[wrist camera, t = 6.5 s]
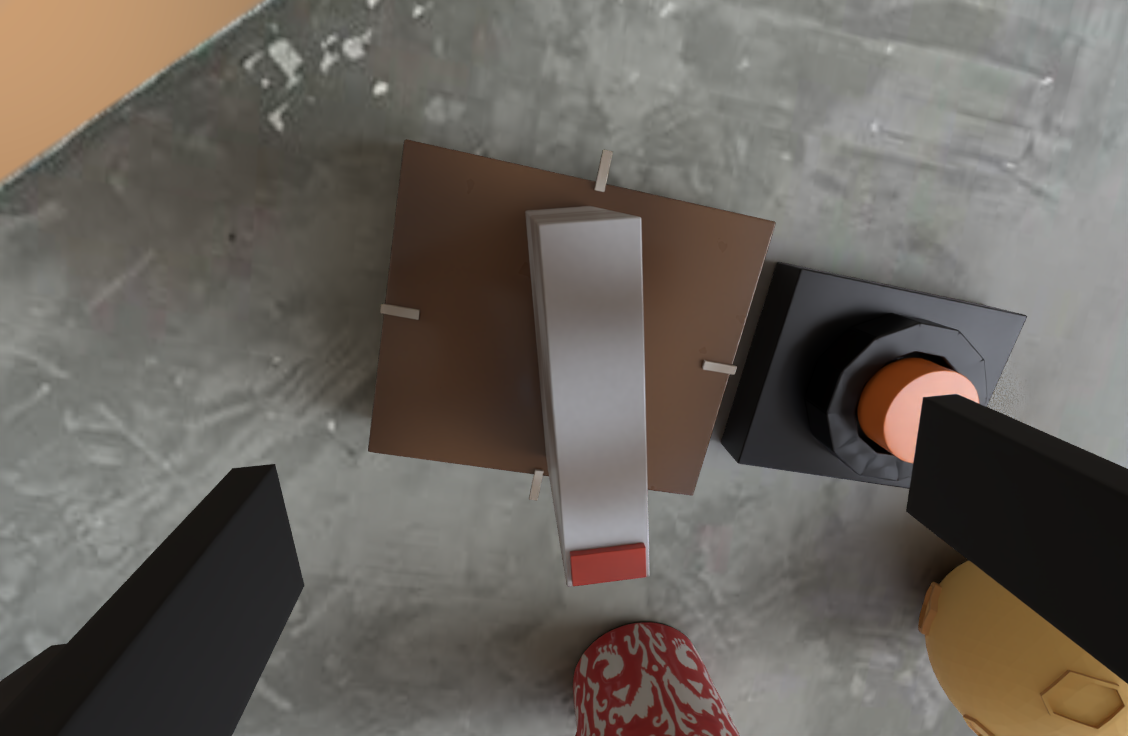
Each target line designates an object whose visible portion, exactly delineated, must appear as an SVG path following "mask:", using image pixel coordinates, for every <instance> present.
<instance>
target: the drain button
mask: <svg viewBox="0 0 1128 736" xmlns="http://www.w3.org/2000/svg"><path fill="white" fill-rule="evenodd" d="M950 394H958V395H961V396H963V397H965V398H967V399H970V400H972V401H974V402H977V403H979V397H978V393H977V390H976V389H975V387H974V385H973V384H972V382H971V381H970V380H969V379H968V378H967V377H965V376H964V375H962V374H960V373H958V372H955V371H953V370H950V369H948V368H946V367H943V366H941V365H938V364H936V363H933V362H931V361H928V360H926V359H922V358H904V359H900V360H896V361H894V362H891V363H889V364H888V365H886V366H884V367H883V368H881V369H880V370H879V371H878V372H876V373H875V374H874V375H873V376H872V377H871V378H870V380H869V381H868V382H867V384H866V385H865V387H864V389H863V391H862V393H861V395H860V398H859V402H858V409H857V414H858V421H859V424H860V427H861V429H862V430H863V432H864V433H865V435H866V436H867V437H868V438H870V439H871V440H872V441H874V442H875V443H877V444H878V445H879V446H881V447H882V448H884V449H885V450H887V451H888V452H890V453H891V454H893V455H894V456H896V457H897V458H899V459H900V460H903V461H905V462H909V463H913V462H914V455H915V448H916V441H917V434H918V428H919V421H920V414H921V407H922V401H923V397H930V396H940V395H950Z"/></svg>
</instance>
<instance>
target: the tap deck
mask: <svg viewBox="0 0 1128 736" xmlns="http://www.w3.org/2000/svg"><path fill="white" fill-rule="evenodd" d="M612 154H613V152H612V151H608V150H602V155H601V160H600V165H599V169H598V174H597V179H596V182H595V181H591V180H586V179H582V178H577V177H573V176H568V175H564V174H559V173H555V172H550V171H546V170H541V169H537V168H532V167H528V166H523V165H519V164H515V163H510V162H506V161H501V160H497V159H492V158H488V157H483V156H479V155H474V154H470V153H465V152H461V151H456V150H452V149H447V148H443V147H438V146H434V145H429V144H425V143H420V142H416V141H411V140H407V139H406V140H404V145H403V154H402V163H401V171H400V180H399V188H398V197H397V205H396V214H395V223H394V231H393V240H392V248H391V257H390V265H389V274H388V283H387V291H386V300H385V304H384V303H382V304H381V310H380V313H382V314H384V317H383V326H382V334H381V343H380V351H379V360H378V368H377V377H376V386H375V394H374V403H373V411H372V420H371V428H370V437H369V446H368V451H369V452H374V453H381V454H389V455H396V456H403V457H411V458H418V459H426V460H433V461H440V462H448V463H455V464H462V465H470V466H477V467H485V468H492V469H499V470H507V471H514V472H522V473H529V474H534V476H533V481H532V486H531V491H530V495H529V500H538V495H539V491H540V486H541V481H542V477H543V475H544V476H549V472H548V465H547V459H546V449H545V437H544V425H543V413H542V402H541V390H540V378H539V366H538V355H537V343H536V331H535V320H534V308H533V296H532V284H531V273H530V261H529V249H528V237H527V226H526V214H525V212H526V211H528V210H541V209H555V208H568V207H582V206H592V207H597V208H601V209H606V210H610V211H615V212H620V213H624V214H629V215H634V216H638V217H641V225H642V269H643V312H644V355H645V399H646V442H647V486H648V490H654V491H662V492H669V493H677V494H684V495H691V496H692V495H693V493H694V490H695V487H696V484H697V480H698V477H699V474H700V470H701V467H702V464H703V461H704V457H705V454H706V451H707V447H708V444H709V441H710V438H711V434H712V431H713V428H714V424H715V421H716V418H717V415H718V411H719V408H720V405H721V401H722V398H723V395H724V392H725V388H726V385H727V382H728V379H729V375H730V374H733V375H735V371H736V368H737V366H735V365H733V362H734V359H735V356H736V352H737V349H738V346H739V342H740V339H741V336H742V333H743V329H744V326H745V323H746V319H747V316H748V313H749V310H750V306H751V303H752V300H753V296H754V293H755V290H756V287H757V283H758V280H759V277H760V274H761V270H762V267H763V264H764V260H765V257H766V254H767V251H768V247H769V244H770V241H771V237H772V234H773V231H774V228H775V224H776V222H774V221H770V220H766V219H761V218H757V217H752V216H748V215H743V214H739V213H734V212H730V211H725V210H721V209H716V208H712V207H707V206H703V205H698V204H694V203H689V202H685V201H680V200H676V199H671V198H667V197H662V196H658V195H653V194H649V193H644V192H640V191H636V190H631V189H627V188H622V187H618V186H613V185H609V184H606V182H607V177H608V172H609V168H610V163H611V159H612Z"/></svg>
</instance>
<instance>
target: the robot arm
mask: <svg viewBox="0 0 1128 736" xmlns="http://www.w3.org/2000/svg"><path fill="white" fill-rule="evenodd" d="M906 512H908V513H909V514H910V515H911V516H913V517H914V518H915V519H917V520H918V521H919V522H920V523H922V524H923V525H924V526H926V527H927V528H928V529H929V530H931V531H932V532H933V533H935V534H936V535H937V536H938V537H940V538H941V539H942V540H944V541H945V542H946V543H947V544H949V545H950V546H951V547H953V548H954V549H955V550H956V551H958V552H959V553H960V554H962V555H963V556H964V557H965V558H967V559H968V560H969V561H970V562H972V563H973V564H974V565H976V566H977V567H978V568H979V569H981V570H982V571H983V572H985V573H986V574H987V575H988V576H990V577H991V578H992V579H994V580H995V581H996V582H997V583H999V584H1000V585H1001V586H1003V587H1004V588H1005V589H1006V590H1008V591H1009V592H1010V593H1012V594H1013V595H1014V596H1015V597H1017V598H1018V599H1019V600H1021V601H1022V602H1023V603H1024V604H1026V605H1027V606H1028V607H1030V608H1031V609H1032V610H1033V611H1035V612H1036V613H1037V614H1039V615H1040V616H1041V617H1042V618H1044V619H1045V620H1046V621H1047V622H1049V623H1050V624H1051V625H1053V626H1054V627H1055V628H1056V629H1058V630H1059V631H1060V632H1062V633H1063V634H1064V635H1065V636H1067V637H1068V638H1069V639H1071V640H1072V641H1073V642H1074V643H1076V644H1077V645H1078V646H1080V647H1081V648H1082V649H1083V650H1085V651H1086V652H1087V653H1089V654H1090V655H1091V656H1092V657H1094V658H1095V659H1096V660H1098V661H1099V662H1100V663H1101V664H1103V665H1104V666H1105V667H1107V668H1108V669H1109V670H1110V671H1112V672H1113V673H1114V674H1116V675H1117V676H1118V677H1119V678H1121V679H1122V680H1123V681H1125V682H1126V683H1127V684H1128V469H1127V468H1124V467H1122V466H1120V465H1118V464H1115V463H1113V462H1111V461H1109V460H1106V459H1104V458H1102V457H1099V456H1097V455H1095V454H1093V453H1090V452H1088V451H1086V450H1084V449H1081V448H1079V447H1077V446H1074V445H1072V444H1070V443H1068V442H1065V441H1063V440H1061V439H1058V438H1056V437H1054V436H1052V435H1049V434H1047V433H1045V432H1043V431H1040V430H1038V429H1036V428H1033V427H1031V426H1029V425H1027V424H1024V423H1022V422H1020V421H1018V420H1015V419H1013V418H1011V417H1008V416H1006V415H1004V414H1002V413H999V412H997V411H995V410H992V409H990V408H988V407H986V406H983V405H981V404H979V403H977V402H974V401H972V400H970V399H967V398H965V397H963V396H961V395H958V394H950V395H940V396H930V397H923V401H922V407H921V414H920V421H919V428H918V434H917V441H916V448H915V455H914V462H913V468H912V475H911V482H910V489H909V496H908V502H907V509H906ZM303 587H304V582H303V578H302V574H301V570H300V566H299V562H298V557H297V553H296V549H295V545H294V541H293V537H292V532H291V528H290V524H289V520H288V516H287V512H286V508H285V503H284V499H283V495H282V491H281V487H280V483H279V479H278V474H277V470H276V466H275V464H271V465H261V466H251V467H241V468H232V470H231V471H230V472H229V473H228V474H227V475H226V476H225V477H224V478H223V479H222V480H221V481H220V482H219V483H218V484H217V485H216V486H215V488H214V489H213V490H212V491H211V492H210V493H209V494H208V495H207V496H206V497H205V498H204V499H203V500H202V501H201V502H200V503H199V504H198V506H197V507H196V508H195V509H194V510H193V511H192V512H191V513H190V514H189V515H188V516H187V517H186V518H185V519H184V520H183V521H182V522H181V524H180V525H179V526H178V527H177V528H176V529H175V530H174V531H173V532H172V533H171V534H170V535H169V536H168V537H167V538H166V539H165V540H164V542H163V543H162V544H161V545H160V546H159V547H158V548H157V549H156V550H155V551H154V552H153V553H152V554H151V555H150V556H149V557H148V558H147V560H146V561H145V562H144V563H143V564H142V565H141V566H140V567H139V568H138V569H137V570H136V571H135V572H134V573H133V574H132V575H131V576H130V578H129V579H128V580H127V581H126V582H125V583H124V584H123V585H122V586H121V587H120V588H119V589H118V590H117V591H116V592H115V593H114V594H113V596H112V597H111V598H110V599H109V600H108V601H107V602H106V603H105V604H104V605H103V606H102V607H101V608H100V609H99V610H98V611H97V612H96V614H95V615H94V616H93V617H92V618H91V619H90V620H89V621H88V622H87V623H86V624H85V625H84V626H83V627H82V628H81V629H80V630H79V632H78V633H77V634H76V635H75V636H74V637H73V638H72V639H71V640H70V641H69V642H68V643H67V644H61V645H53V646H50V647H49V648H47V649H46V650H44V651H43V652H42V653H40V654H39V655H37V656H36V657H34V658H33V659H32V660H30V661H29V662H27V663H26V664H24V665H23V666H22V667H20V668H19V669H17V670H16V671H14V672H13V673H11V674H10V675H9V676H7V677H6V678H4V679H3V680H2V681H1V682H0V736H232V734H233V732H234V730H235V728H236V726H237V724H238V722H239V720H240V718H241V716H242V713H243V711H244V709H245V707H246V705H247V703H248V701H249V699H250V697H251V695H252V693H253V691H254V689H255V687H256V684H257V682H258V680H259V678H260V676H261V674H262V672H263V670H264V668H265V666H266V664H267V662H268V660H269V658H270V655H271V653H272V651H273V649H274V647H275V645H276V643H277V641H278V639H279V637H280V635H281V633H282V631H283V629H284V626H285V624H286V622H287V620H288V618H289V616H290V614H291V612H292V610H293V608H294V606H295V604H296V602H297V600H298V597H299V595H300V593H301V591H302V589H303Z"/></svg>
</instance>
